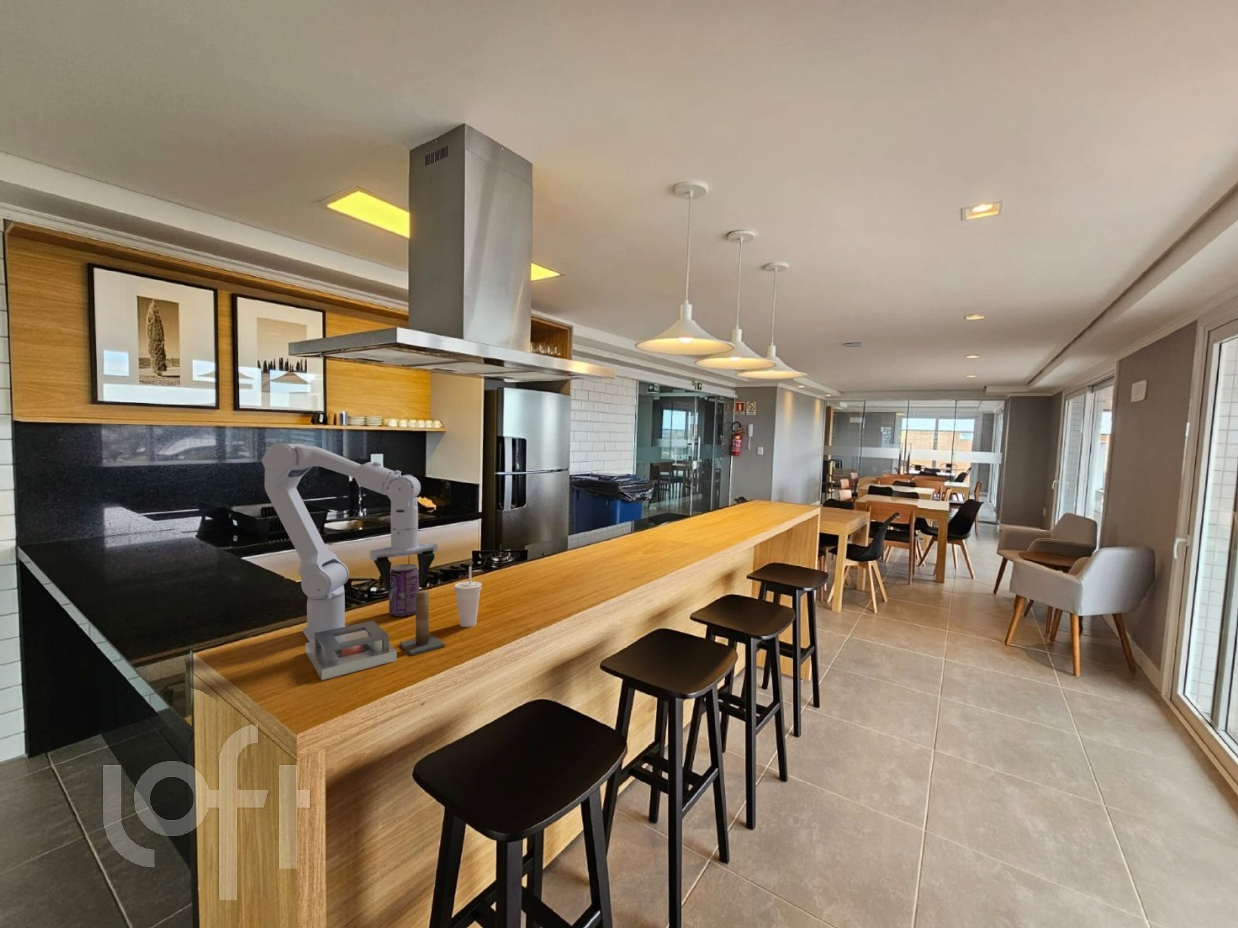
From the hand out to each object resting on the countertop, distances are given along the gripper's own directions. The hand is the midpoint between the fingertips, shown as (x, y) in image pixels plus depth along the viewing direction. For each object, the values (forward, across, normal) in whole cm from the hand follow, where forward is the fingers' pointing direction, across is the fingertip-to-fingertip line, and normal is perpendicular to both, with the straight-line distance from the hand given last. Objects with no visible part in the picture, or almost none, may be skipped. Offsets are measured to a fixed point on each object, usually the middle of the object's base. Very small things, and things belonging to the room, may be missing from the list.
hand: (404, 586), depth 114 cm
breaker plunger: (+10, -13, -9) cm, 19 cm away
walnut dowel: (+10, 0, -11) cm, 15 cm away
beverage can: (+11, +4, +13) cm, 17 cm away
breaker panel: (+10, -13, -7) cm, 18 cm away
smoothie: (+11, +13, -5) cm, 18 cm away
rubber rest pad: (+10, 0, -11) cm, 15 cm away
